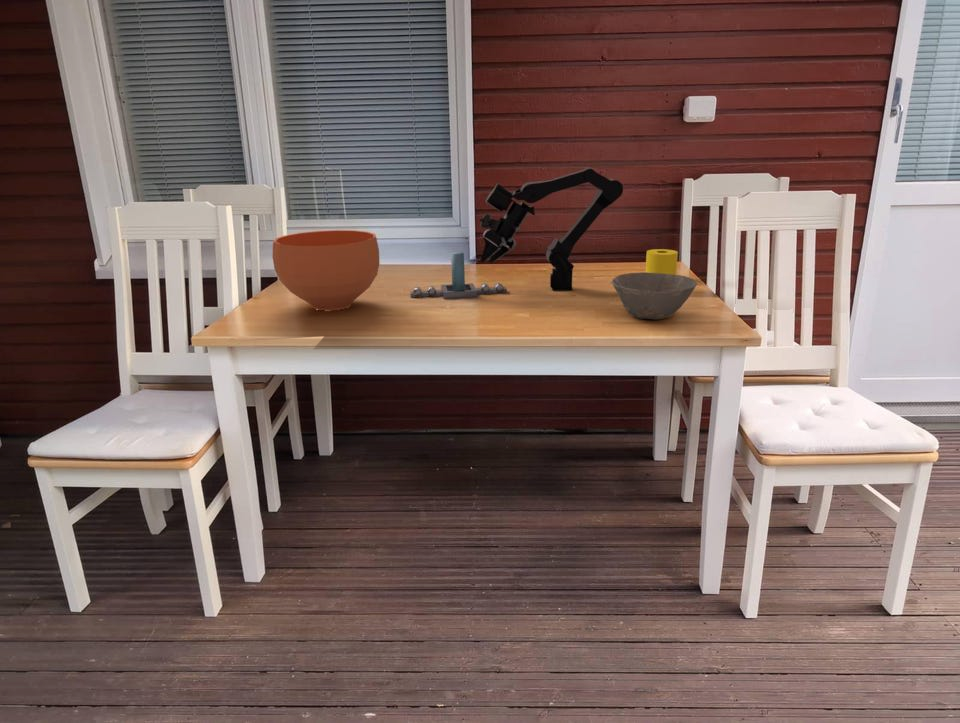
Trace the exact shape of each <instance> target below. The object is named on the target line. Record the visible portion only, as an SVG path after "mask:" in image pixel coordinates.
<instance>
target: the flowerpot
mask: <svg viewBox="0 0 960 723" xmlns="http://www.w3.org/2000/svg"><path fill="white" fill-rule="evenodd" d="M272 261H273V262H272V263H273V269H274V271H275V273H276V276H277V277H278V280H279V282H281V284H283V285H284V287H285V288H286V289H287V290H288V291H289V292H290V293H291V294H293V295H294V296H296V297H297V298H299V299H302V300H303V301H304V302H306V303H308V304H310V305H311V306H312V309H313V308H315V309H318V310H338V311H341V310H340V309H343V310H345V309H344V308H347V307H349V308H351V307H352V303H353V302H354V301H356V299H358V298H359V297H360V296H361V295H362V294H363V293H365V291H367V290H368V289H370V287H371V286H372V284H373V283H374V280H375V279H376V277H377V276H378V271H379V267H380V248H379V244H378V239H377V235H376V233H374V232H371V231H370V232H369V231H365V230H357V229H354V230H353V229H351V230H350V229H348V230H347V229H335V230H334V229H332V230H330V229H328V230H327V229H326V230H315V231H302V232H297V233H290V234H286V235H285V234H284V235H281V236H278V237H276V238H275V239H274V240H273V242H272ZM315 309H314V310H315ZM347 309H348V308H347ZM318 310H317V311H318Z"/></svg>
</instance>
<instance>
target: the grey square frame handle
mask: <svg viewBox="0 0 960 723" xmlns="http://www.w3.org/2000/svg"><path fill="white" fill-rule="evenodd" d="M505 293H506V294H507V293H508V288H507V287H506V286H503V284H502V283H501V282H497V283H495V284H494V287H490V286H489V285H488V283H482V284H481V285H480V287H478V288H477V287H476V286H475V284H474V283H473V282H472V283H465V290H461V291H452V283H451V284H440V289H436V287H435V286H433V285H430V286H427V289H426V290H422V288H421V287H419V286H415V287H414V288H413V289H412V291H409V294H410V295H409V296H410V298H427V297H428V298H430V297H442V298H443V299H444V300H447V299H467V298H478V295H488V294H505Z"/></svg>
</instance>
